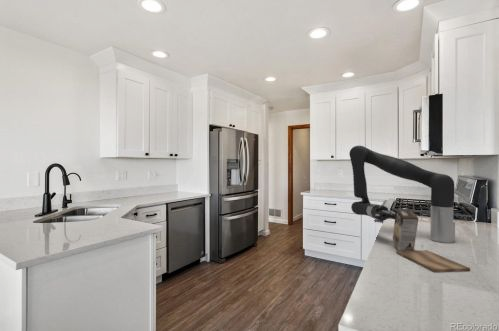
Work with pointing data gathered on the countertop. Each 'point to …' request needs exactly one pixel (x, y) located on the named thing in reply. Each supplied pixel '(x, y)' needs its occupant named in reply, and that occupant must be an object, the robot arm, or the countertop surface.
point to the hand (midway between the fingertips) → (399, 217)
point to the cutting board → (432, 261)
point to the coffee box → (405, 230)
